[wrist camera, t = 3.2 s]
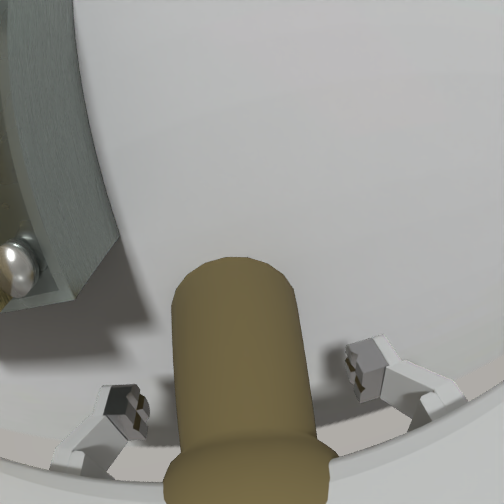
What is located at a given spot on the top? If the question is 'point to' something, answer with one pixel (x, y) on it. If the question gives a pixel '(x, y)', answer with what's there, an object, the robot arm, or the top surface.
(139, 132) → the top surface
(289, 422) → the cork
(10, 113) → the grey wooden box
